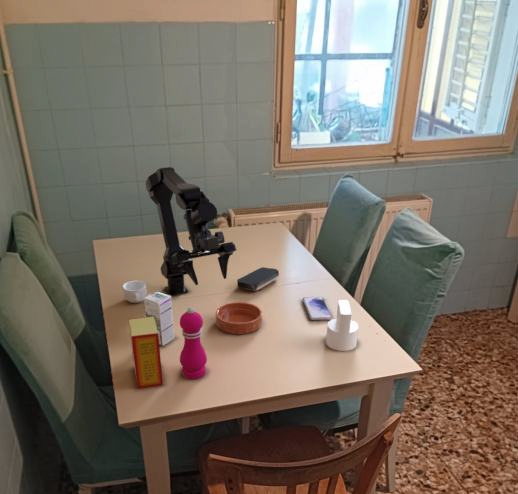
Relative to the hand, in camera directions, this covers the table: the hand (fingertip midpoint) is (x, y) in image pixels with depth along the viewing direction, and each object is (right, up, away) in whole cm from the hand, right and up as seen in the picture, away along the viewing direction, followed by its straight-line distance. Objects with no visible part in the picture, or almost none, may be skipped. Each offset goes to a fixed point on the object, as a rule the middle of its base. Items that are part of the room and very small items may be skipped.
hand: (211, 281), depth 168 cm
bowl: (+8, -12, +10) cm, 18 cm away
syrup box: (-15, -17, +1) cm, 23 cm away
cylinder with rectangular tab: (+39, -18, +1) cm, 43 cm away
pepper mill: (-3, -26, -14) cm, 30 cm away
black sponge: (+14, +3, +35) cm, 38 cm away
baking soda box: (-16, -27, -15) cm, 35 cm away
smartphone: (+33, -7, +19) cm, 39 cm away
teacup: (-27, -4, +22) cm, 35 cm away
